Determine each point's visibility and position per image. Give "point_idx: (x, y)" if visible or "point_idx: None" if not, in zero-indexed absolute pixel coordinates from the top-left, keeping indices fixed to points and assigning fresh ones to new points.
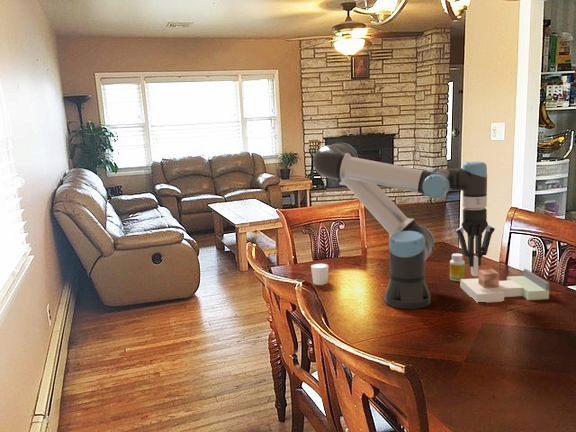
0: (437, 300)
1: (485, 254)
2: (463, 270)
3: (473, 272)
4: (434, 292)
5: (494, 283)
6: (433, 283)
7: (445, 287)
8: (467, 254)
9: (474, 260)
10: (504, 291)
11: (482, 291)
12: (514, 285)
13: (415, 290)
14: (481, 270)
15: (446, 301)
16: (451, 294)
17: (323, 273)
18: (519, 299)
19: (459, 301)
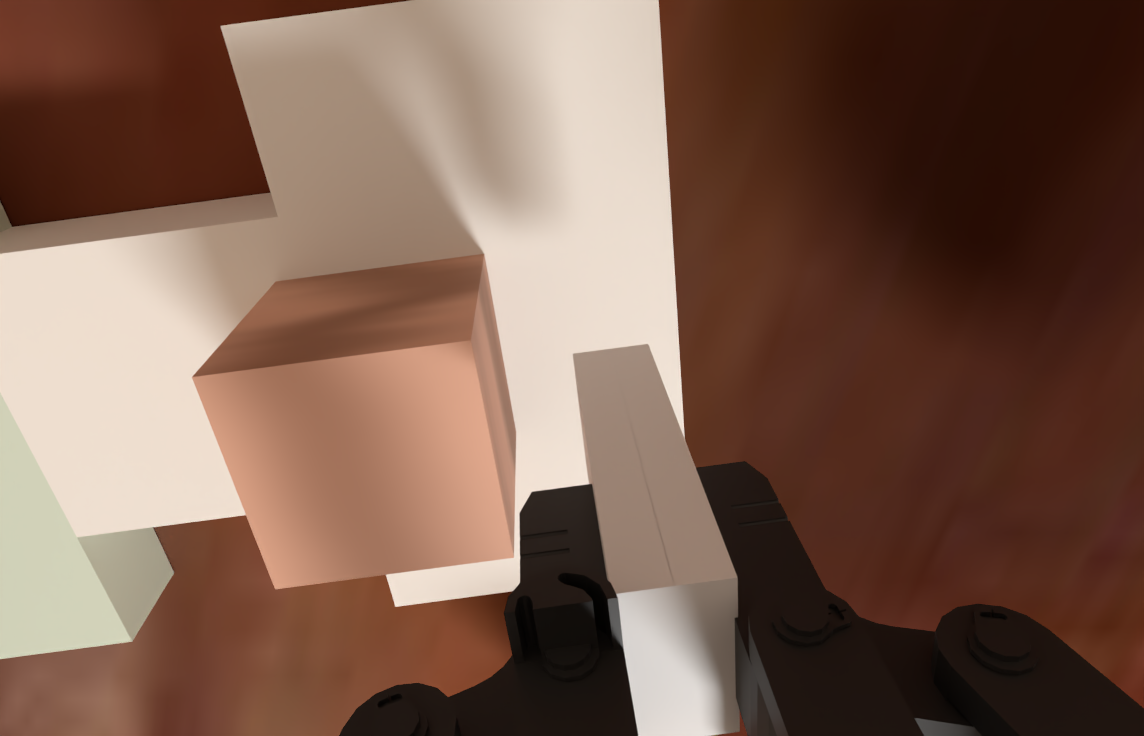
0: (1090, 97)
1: (384, 705)
2: None
3: (661, 388)
4: (999, 364)
5: (322, 294)
6: (897, 601)
7: (824, 502)
8: (995, 649)
9: (704, 533)
10: (213, 214)
11: (540, 109)
12: (48, 351)
13: None
14: (475, 531)
15: (999, 55)
16: (842, 299)
17: None
18: (52, 99)
19: (840, 49)
